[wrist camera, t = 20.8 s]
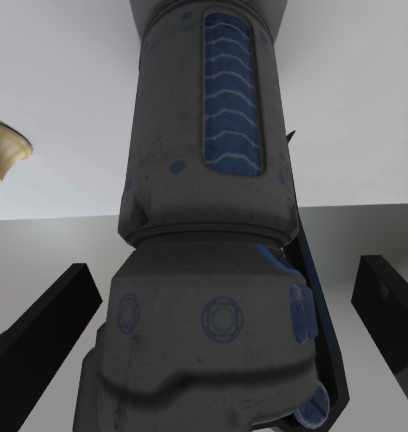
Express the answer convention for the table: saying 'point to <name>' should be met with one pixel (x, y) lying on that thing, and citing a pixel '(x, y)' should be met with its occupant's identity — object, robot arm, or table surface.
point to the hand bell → (11, 149)
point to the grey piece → (211, 248)
